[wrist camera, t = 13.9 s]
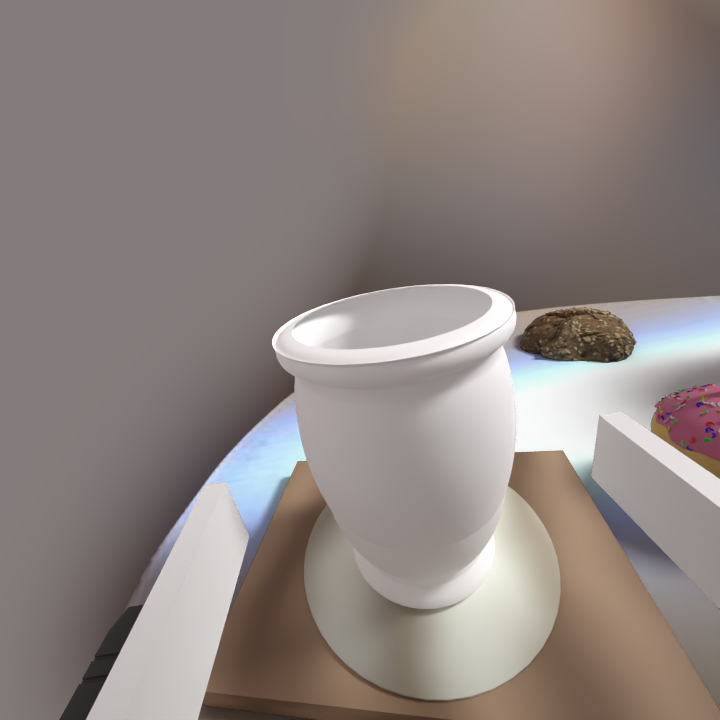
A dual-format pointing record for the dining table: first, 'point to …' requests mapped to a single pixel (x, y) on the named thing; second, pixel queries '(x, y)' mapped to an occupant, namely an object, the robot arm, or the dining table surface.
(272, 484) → the dining table surface
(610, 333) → the bread roll
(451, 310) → the jar
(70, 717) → the robot arm
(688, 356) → the dining table surface
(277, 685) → the board
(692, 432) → the cupcake
